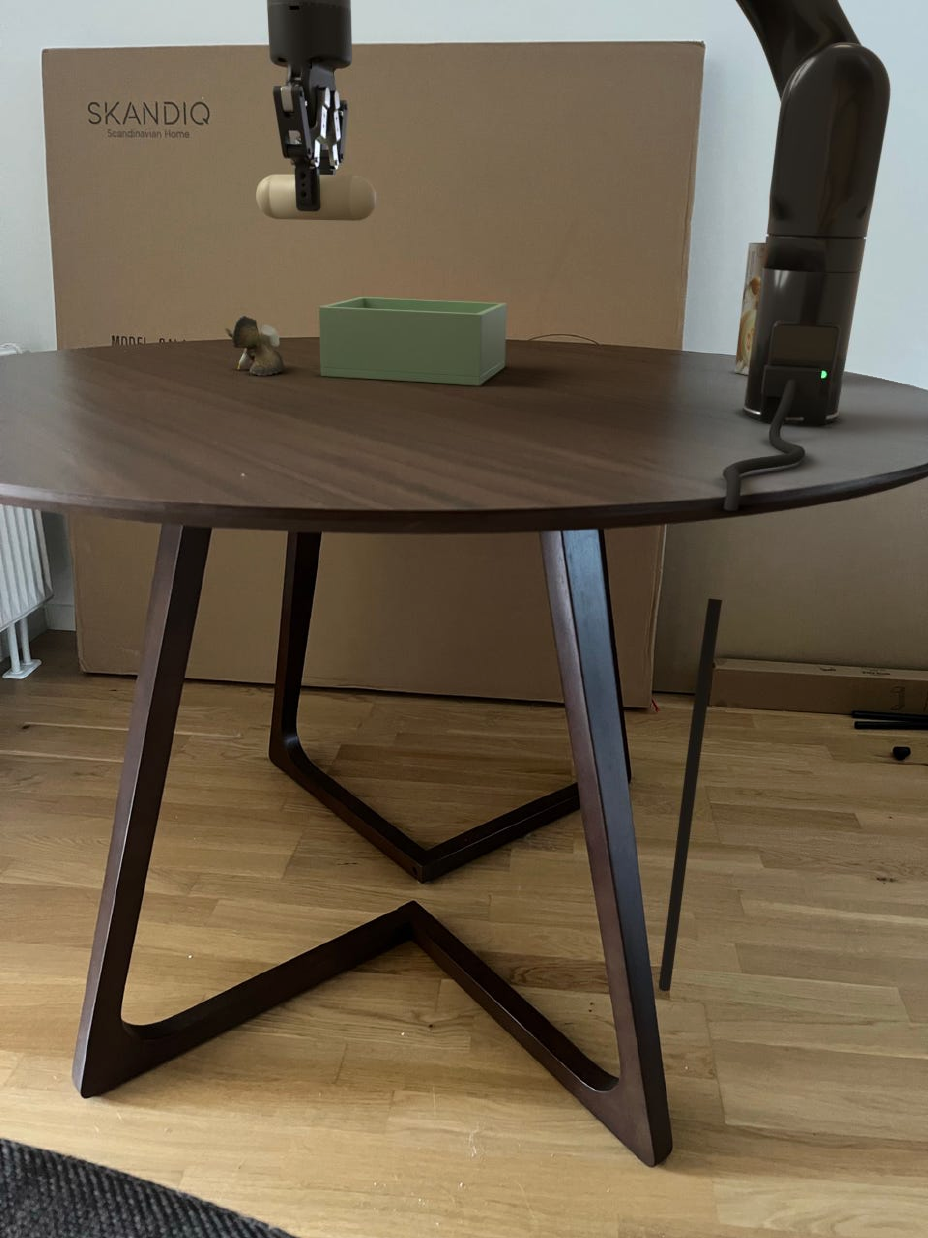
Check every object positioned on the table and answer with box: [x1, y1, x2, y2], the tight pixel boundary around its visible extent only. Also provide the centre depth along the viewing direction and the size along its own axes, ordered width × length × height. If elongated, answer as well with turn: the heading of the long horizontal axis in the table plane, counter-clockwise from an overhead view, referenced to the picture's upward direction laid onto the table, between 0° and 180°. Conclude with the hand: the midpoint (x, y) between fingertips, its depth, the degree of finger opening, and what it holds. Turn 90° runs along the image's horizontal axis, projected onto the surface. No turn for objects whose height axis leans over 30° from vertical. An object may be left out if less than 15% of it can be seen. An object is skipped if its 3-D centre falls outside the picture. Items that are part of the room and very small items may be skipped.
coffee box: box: [733, 242, 765, 376], centre depth 124 cm, size 9×6×16 cm
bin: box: [318, 296, 508, 387], centre depth 123 cm, size 16×20×8 cm
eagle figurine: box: [224, 315, 285, 377], centre depth 122 cm, size 8×7×9 cm
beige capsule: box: [255, 174, 378, 222], centre depth 96 cm, size 4×12×4 cm, turn 78°
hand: (316, 209), depth 96 cm, fingers closed on beige capsule, 4 cm apart
